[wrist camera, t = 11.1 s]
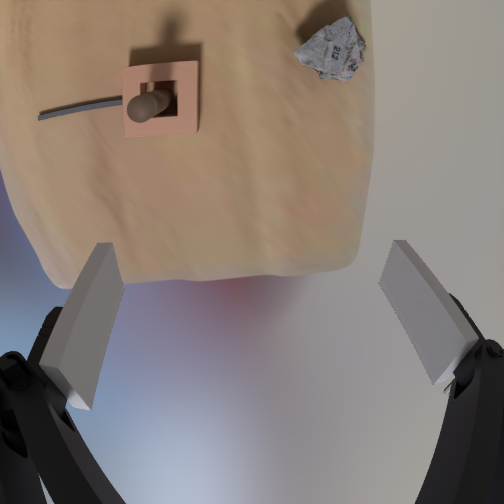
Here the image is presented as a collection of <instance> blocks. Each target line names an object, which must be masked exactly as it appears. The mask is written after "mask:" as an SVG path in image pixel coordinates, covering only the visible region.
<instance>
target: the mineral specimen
mask: <svg viewBox="0 0 504 504" xmlns="http://www.w3.org/2000/svg"><path fill="white" fill-rule="evenodd" d="M365 50H366V45H365V44H364V42H363V41H361V39H360V37H359V35H358V34H357V32H356V30H355V24H354V23H352V22H351V17H350V16H344V17H343V18H340V19H339V20H337V21H336V22H334V23H333V24H331V25H326V26H325V27H324V28H322V29H320V30H319V31H318V32H316V33H315V34H314V35H313V36H312V38H311V39H309V40H308V41H307V42H306V43H304V44H303V45H301V46H300V47H299V48H298V49H297V50H295V51H294V56H296V57H297V58H299V59H300V63H301V64H302V65H305V66H308V67H311V68H313V69H315V70H316V71H317V72H318V73H319V74H320V78H321V79H327V80H329V79H336V80H342V81H347V80H349V79H351V78H352V77H353V76H354V71H356V69H357V68H358V66H359V65H360V64H361V63H362V62H363V61H364V57H363V55H362V53H363V52H364V51H365Z"/></svg>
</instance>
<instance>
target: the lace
mask: <svg viewBox="0 0 504 504" xmlns="http://www.w3.org/2000/svg"><path fill="white" fill-rule="evenodd" d="M116 105H123V99H119V100H113V101H106V102H100V103H94V104H88V105H83V106H78V107H73V108H68V109H64V110H59V111H55V112H51V113H47V114H43V115H39V116H38V121H40V120H44V119H48V118H52V117H56V116H61V115H65V114H70V113H75V112H80V111H85V110H91V109H97V108H103V107H109V106H116Z"/></svg>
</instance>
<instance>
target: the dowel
mask: <svg viewBox="0 0 504 504" xmlns="http://www.w3.org/2000/svg"><path fill="white" fill-rule="evenodd" d="M173 99H174V97H173V94H172V92H171V91H170V90H168V89H165V88H163V89H158V90H155V91H151V92H148V93H144V94H141V95H138V96H135V97H133V98H132V99H131V100H130V101H129V103H128V105H127V114H128V116H129V118H130V119H131V120H132V121H134V122H137V123H143V122H146V121H148V120H149V119H151V118H152V117H154V116H155V115H157V114H158V113H160V112H161V111H163V110H164V109H166V108H168V107H169V106H170V105H171V104H172V102H173Z"/></svg>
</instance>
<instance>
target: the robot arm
mask: <svg viewBox="0 0 504 504" xmlns="http://www.w3.org/2000/svg"><path fill="white" fill-rule="evenodd" d="M379 285H380V287H381V289H382V290H383V292H384V294H385V295H386V297H387V299H388V301H389V302H390V304H391V306H392V308H393V309H394V311H395V313H396V314H397V316H398V318H399V320H400V322H401V323H402V325H403V327H404V329H405V331H406V333H407V335H408V336H409V338H410V340H411V342H412V344H413V345H414V348H415V350H416V352H417V354H418V356H419V357H420V360H421V362H422V363H423V366H424V367H425V369H426V372H427V374H428V376H429V378H430V380H431V382H432V384H433V385H435V384H438V383H440V382H444V381H446V380H447V379H448V377H449V376H450V375H451V374H452V373H454V375H455V379H453V381H452V382H451V383H450V384H449V385H448V386H447V387H446V388H445V390H444V392H443V393H444V394H445V393H446V392H447V391H448V390H449V389H450V388H451V390H450V393H449V394H448V395H449V399H448V404H447V408H446V412H445V417H444V420H443V424H442V428H441V432H440V436H439V439H438V442H437V445H436V449H435V452H434V455H433V458H432V461H431V464H430V467H429V469H428V472H427V475H426V477H425V480H424V483H423V485H422V488H421V490H420V492H419V495H418V497H417V500H416V502H415V504H504V349H502V347H501V346H500V345H499V344H498V343H497V342H495V341H494V340H491V339H488V340H485V338H484V337H483V335H482V334H481V332H480V331H479V329H478V328H477V326H476V325H475V323H474V322H473V320H472V319H471V318H470V317H469V315H468V313H467V312H466V310H464V308H463V306H462V305H461V303H460V302H459V301H458V300H457V299H456V298H455V297H454V296H452V295H451V294H450V293H448V292H447V291H446V290H445V289H444V287H443V286H442V285H441V283H440V282H439V281H438V279H437V278H436V277H435V275H434V274H433V273H432V272H431V270H430V269H429V268H428V267H427V265H426V264H425V263H424V262H423V260H422V259H421V258H420V257H419V255H418V254H417V253H416V252H415V251H414V250H413V248H412V247H411V246H410V245H409V244H408V243H407V241H406V240H393V243H392V246H391V249H390V252H389V255H388V258H387V261H386V264H385V267H384V270H383V272H382V275H381V278H380V281H379ZM123 293H124V286H123V282H122V278H121V275H120V271H119V267H118V263H117V259H116V255H115V251H114V247H113V243H97V245H96V246H95V248H94V250H93V252H92V253H91V255H90V257H89V259H88V260H87V262H86V264H85V266H84V268H83V270H82V271H81V273H80V275H79V277H78V279H77V281H76V283H75V285H74V287H73V289H72V291H71V293H70V295H69V297H68V299H67V301H66V303H65V305H64V307H55V308H54V309H53V310H52V311H51V312H50V313H49V314H48V315H47V316H46V318H45V321H44V323H43V325H42V328H41V329H40V331H39V333H38V336H37V338H36V340H35V342H34V345H33V347H32V350H31V352H30V354H29V356H28V359H27V361H26V360H25V358H24V357H23V356H22V354H20V353H19V352H17V351H10V352H7V353H5V354H4V355H2V356H1V357H0V504H47V502H46V498H45V495H44V492H43V489H42V485H41V481H40V478H39V475H40V477H41V479H42V481H43V483H44V485H45V487H46V489H47V491H48V493H49V495H50V496H51V498H52V500H53V502H54V504H126V503H125V502H124V500H123V499H122V498H121V496H120V495H119V494H118V492H117V491H116V490H115V489H114V487H113V486H112V484H111V483H110V481H109V480H108V478H107V477H106V476H105V474H104V473H103V471H102V470H101V468H100V467H99V465H98V463H97V462H96V460H95V459H94V457H93V455H92V454H91V452H90V451H89V449H88V447H87V446H86V444H85V442H84V440H83V439H82V437H81V435H80V433H79V431H78V430H77V428H76V426H75V424H74V422H73V420H72V418H71V416H70V414H69V412H68V411H67V409H66V408H65V406H66V402H67V400H68V401H69V402H70V404H71V405H72V406H73V407H75V408H80V409H86V410H91V409H92V404H93V400H94V396H95V391H96V387H97V383H98V379H99V374H100V371H101V367H102V363H103V359H104V355H105V351H106V348H107V344H108V341H109V338H110V334H111V331H112V328H113V324H114V321H115V318H116V314H117V312H118V308H119V305H120V302H121V299H122V296H123ZM38 473H39V474H38Z"/></svg>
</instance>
